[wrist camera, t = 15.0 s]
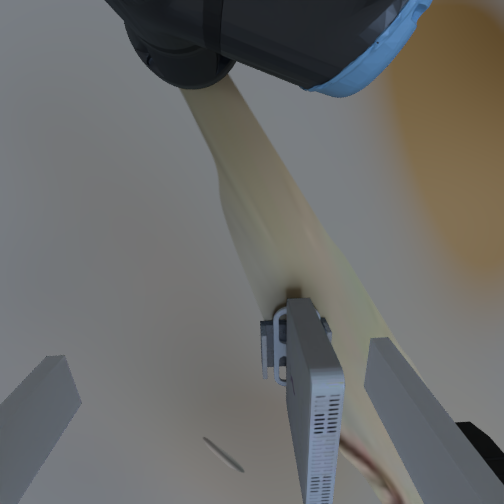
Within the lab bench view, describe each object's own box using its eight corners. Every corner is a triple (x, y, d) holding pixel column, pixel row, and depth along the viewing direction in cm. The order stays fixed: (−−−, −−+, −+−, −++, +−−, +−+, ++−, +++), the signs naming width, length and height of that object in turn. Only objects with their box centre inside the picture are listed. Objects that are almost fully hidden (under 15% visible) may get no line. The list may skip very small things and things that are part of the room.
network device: (272, 290, 48) (291, 379, 29) (321, 288, 48) (370, 375, 30) (274, 396, 57) (289, 516, 38) (315, 394, 57) (350, 512, 39)
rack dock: (260, 321, 52) (261, 336, 48) (324, 317, 52) (332, 332, 48) (261, 361, 56) (263, 379, 51) (322, 358, 56) (328, 375, 52)
